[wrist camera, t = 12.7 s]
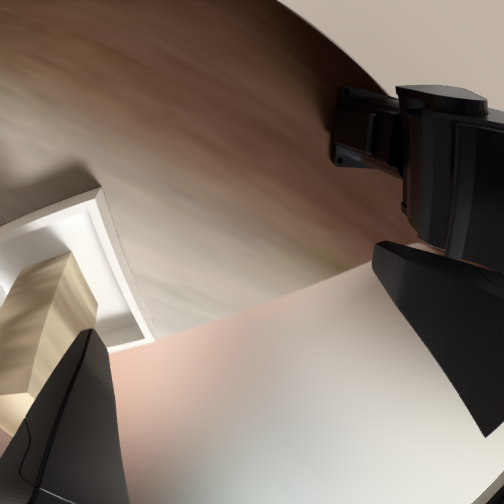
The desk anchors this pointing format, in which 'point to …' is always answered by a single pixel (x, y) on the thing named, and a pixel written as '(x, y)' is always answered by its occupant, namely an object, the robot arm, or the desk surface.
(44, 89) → the desk surface
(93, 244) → the white tray
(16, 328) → the birch block
